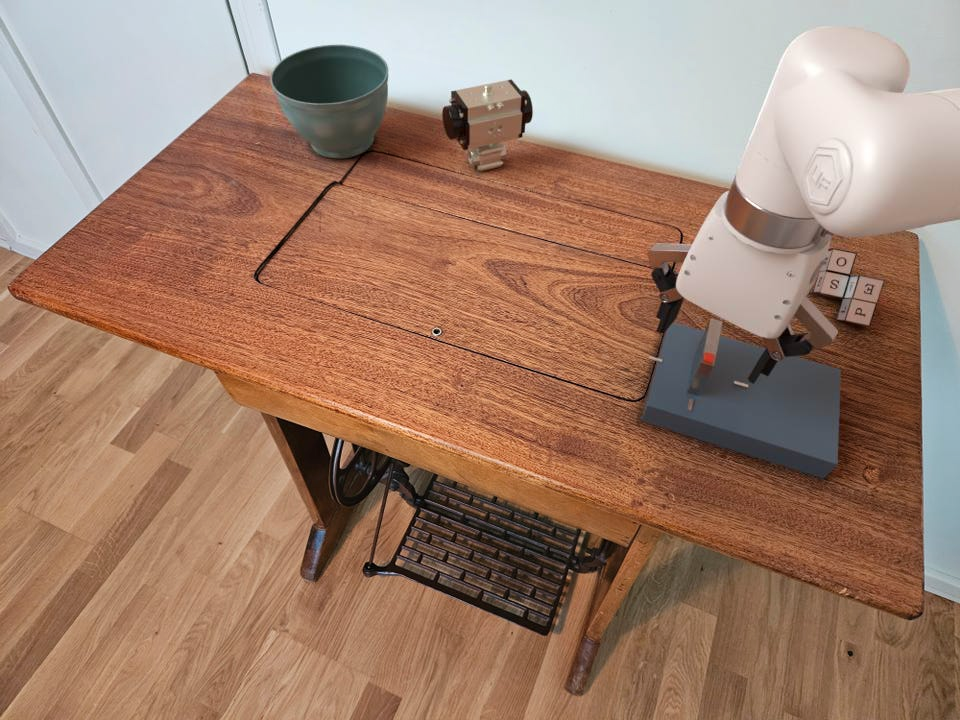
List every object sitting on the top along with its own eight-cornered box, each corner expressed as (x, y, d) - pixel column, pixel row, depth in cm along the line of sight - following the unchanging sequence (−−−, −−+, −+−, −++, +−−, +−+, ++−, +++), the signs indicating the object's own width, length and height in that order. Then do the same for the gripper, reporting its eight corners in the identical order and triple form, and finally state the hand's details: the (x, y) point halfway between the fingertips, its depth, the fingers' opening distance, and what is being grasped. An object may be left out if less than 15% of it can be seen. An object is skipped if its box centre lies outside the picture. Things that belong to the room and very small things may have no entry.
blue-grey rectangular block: (828, 385, 67) (842, 368, 65) (823, 479, 60) (838, 463, 58) (653, 335, 71) (660, 317, 69) (630, 417, 64) (636, 400, 62)
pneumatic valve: (443, 163, 91) (440, 84, 82) (516, 147, 94) (521, 69, 84) (456, 185, 88) (455, 106, 78) (531, 167, 91) (538, 89, 81)
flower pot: (327, 188, 87) (312, 117, 79) (267, 139, 94) (247, 69, 86) (417, 144, 94) (411, 75, 85) (355, 102, 101) (344, 33, 93)
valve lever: (696, 349, 66) (711, 316, 62) (707, 352, 66) (723, 319, 62) (686, 392, 63) (702, 360, 58) (698, 395, 62) (714, 364, 58)
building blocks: (852, 324, 75) (872, 259, 74) (870, 326, 70) (892, 256, 69) (806, 314, 76) (825, 249, 75) (820, 315, 71) (841, 246, 70)
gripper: (909, 229, 46) (810, 369, 59) (696, 144, 53) (650, 287, 66) (877, 284, 42) (779, 420, 56) (653, 186, 49) (614, 328, 62)
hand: (709, 348), depth 61 cm, fingers open, 9 cm apart
